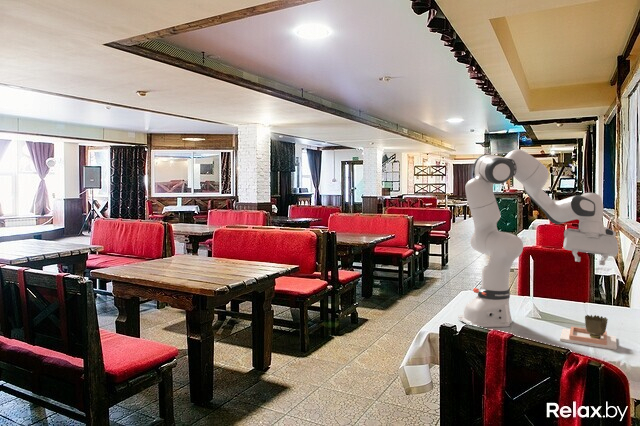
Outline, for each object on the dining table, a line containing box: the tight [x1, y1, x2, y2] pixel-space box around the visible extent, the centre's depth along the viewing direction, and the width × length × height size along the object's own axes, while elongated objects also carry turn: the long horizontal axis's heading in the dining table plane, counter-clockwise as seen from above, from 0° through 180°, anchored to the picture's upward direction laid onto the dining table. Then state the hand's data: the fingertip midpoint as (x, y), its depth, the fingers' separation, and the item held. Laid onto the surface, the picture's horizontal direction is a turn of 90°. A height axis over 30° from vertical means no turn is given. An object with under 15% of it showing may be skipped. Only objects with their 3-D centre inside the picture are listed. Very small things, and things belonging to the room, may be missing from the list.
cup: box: [584, 314, 609, 339], centre depth 173 cm, size 8×7×8 cm
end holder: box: [559, 325, 618, 351], centre depth 174 cm, size 13×18×2 cm
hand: (589, 263), depth 189 cm, fingers open, 8 cm apart
